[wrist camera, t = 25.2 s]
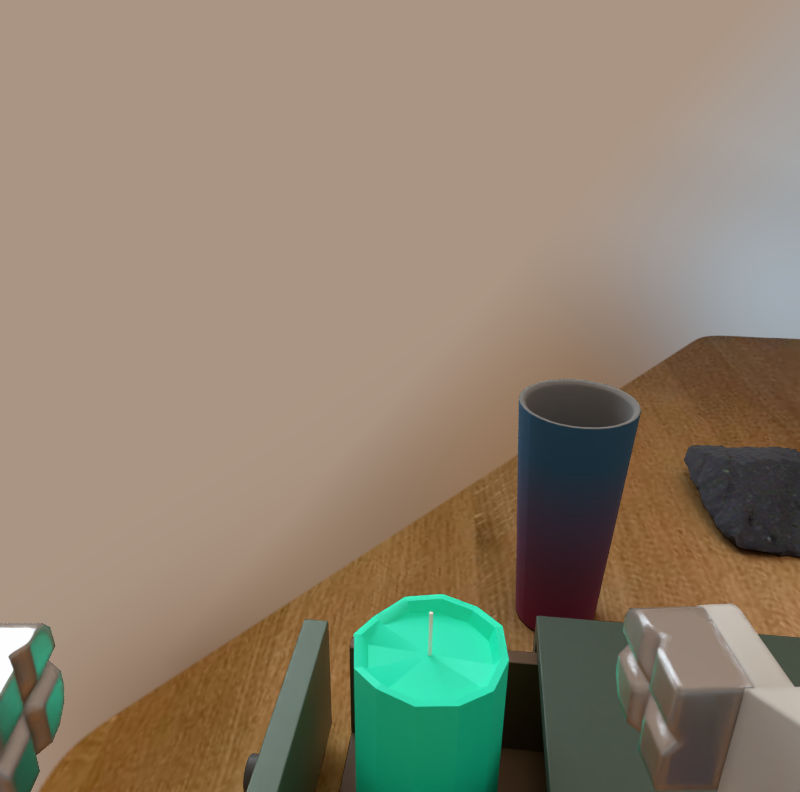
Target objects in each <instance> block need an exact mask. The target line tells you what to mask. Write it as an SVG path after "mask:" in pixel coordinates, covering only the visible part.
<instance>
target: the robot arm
mask: <svg viewBox="0 0 800 792" xmlns="http://www.w3.org/2000/svg"><path fill="white" fill-rule="evenodd" d="M623 632H624V634H625V637H626V639H627V641H628V643H629V644H628V645H627V646H626V647H625V648H624V649H623V650H622V651H621V652H620V653H619V654H618V661H617V668H616V682H617V693H618V697H619V702H620V706H621V709H622V711H623V714H624V717H625V719H626V722H627V723H628V724H630V725H631V726H632V727H633V728H635V729H636V730H637V731H638V732H640V739H639V744H638V751H639V754H640V756H641V758H642V761H643V763H644V766H645V768H646V770H647V773H648V775H649V778H650V780H651V782H652V785H653V787H654V790H655V791H679V790H717V792H800V687H794V685H793V684H792V682H791V681H790V679H789V678H788V677H787V675H786V674H785V672H784V671H783V670H782V668H781V667H780V665H779V664H778V662H777V661H776V660H775V658H774V657H773V655H772V654H771V652H770V651H769V650H768V648H767V647H766V645H765V644H764V643H763V641H762V640H761V638H760V637H759V635H758V634H757V633H756V631H755V630H754V628H753V627H752V626H751V624H750V623H749V621H748V620H747V618H746V617H745V616H744V614H743V613H742V611H741V610H740V609H739V608H738V607H737V606H735V605H733V604H714V605H698V606H682V607H652V608H629V610H628V612H627V614H626V616H625V620H624V625H623ZM54 647H55V644H54V639H53V636H52V632H51V629H50V627H49V626H47V625H45V624H43V623H41V624H39V623H37V624H0V792H31V790H32V787H33V785H34V783H35V781H36V778H37V776H38V774H39V772H40V770H39V766H38V762H37V758H36V755H37V754H38V753H40V752H41V751H42V750H43V749H44V748H46V747H47V746H48V745H49V744H50V743H52V742H53V739H54V737H55V734H56V732H57V730H58V727H59V725H60V720H61V715H62V710H63V704H64V684H63V679H62V674H61V671H60V670H59V669H58V668H57V667H56V666H54V665H53V664H52V663H51V662H50V661H49V658H50V656H51V653H52V652H53V650H54Z"/></svg>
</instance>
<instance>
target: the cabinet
mask: <svg viewBox="0 0 800 792" xmlns="http://www.w3.org/2000/svg"><path fill="white" fill-rule="evenodd" d="M623 625H624V623H619V622H607V621H595V620H583V619H571V618H559V617H547V616H537V617H536V626H535V636H534V645H533V653H537V659H538V673H539V687H540V701H541V715H542V729H543V743H544V758H545V772H546V786H547V792H717V790H679V791H655V790H654V787H653V785H652V782H651V780H650V778H649V775H648V773H647V770H646V768H645V766H644V763H643V761H642V758H641V756H640V754H639V751H638V744H639V739H640V732H638V731H637V730H636V729H635V728H633V727H632V726H631V725H630V724H628V723H627V722H626V719H625V717H624V714H623V711H622V709H621V706H620V702H619V697H618V693H617V682H616V668H617V661H618V654H619V653H620V652H621V651H622V650H623V649H624V648H625V647H626V646H627V645H628V644H629V643H628V641H627V639H626V637H625V634H624V632H623ZM758 635H759V637H760V638H761V640H762V641H763V643H764V644H765V645H766V647H767V648H768V650H769V651H770V652H771V654H772V655H773V657H774V658H775V660H776V661H777V662H778V664H779V665H780V667H781V668H782V670H783V671H784V672H785V674H786V675H787V677H788V678H789V679H790V681H791V682H792V684H793V685H794V687H800V638H798V637H786V636H774V635H762V634H758Z"/></svg>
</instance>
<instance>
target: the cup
mask: <svg viewBox="0 0 800 792" xmlns="http://www.w3.org/2000/svg"><path fill="white" fill-rule="evenodd" d="M640 414H641V408H640V405H639V404H638V402H637V401H636V400H635V399H634V398H633V397H632V396H630V395H629V394H627V393H626V392H624V391H622V390H619V389H617V388H614V387H612V386H609V385H605V384H601V383H597V382H591V381H586V380H575V379H558V380H548V381H543V382H539V383H535V384H533V385H530V386H528V387H527V388H526V389H524V390H523V391H522V392H521V394H520V397H519V431H518V435H519V436H518V494H517V558H516V611H517V614H518V616H519V618H520V619H521V620H522V622H523V623H524V624H526V625H527V626H528V627H529V628H531V629H533V630H534V631H535V626H536V617H537V616H547V617H559V618H571V619H583V620H594V615H595V611H596V607H597V602H598V598H599V594H600V589H601V585H602V580H603V576H604V572H605V567H606V563H607V558H608V554H609V550H610V545H611V541H612V536H613V532H614V528H615V523H616V519H617V514H618V510H619V506H620V501H621V497H622V493H623V488H624V484H625V479H626V475H627V471H628V466H629V462H630V457H631V453H632V449H633V444H634V440H635V435H636V431H637V427H638V422H639V418H640Z"/></svg>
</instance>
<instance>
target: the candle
mask: <svg viewBox="0 0 800 792" xmlns="http://www.w3.org/2000/svg"><path fill="white" fill-rule="evenodd" d="M508 666H509V657H508V652H507V647H506V642H505V637H504V632H503V627H502V625H501V624H499V623H498V622H497V621H495V620H494V619H493V618H491V617H490V616H489V615H488V614H486V613H485V612H484V611H482V610H481V609H480V608H478V607H476V606H474V605H471V604H468V603H466V602H463V601H460V600H457V599H455V598H452V597H449V596H446V595H444V594H438V595H423V596H408V597H404V598H402V599H401V600H399V601H398V602H396V603H394V604H393V605H391V606H390V607H388V608H386V609H385V610H383V611H382V612H380V613H378V614H377V615H375V616H374V617H372V618H371V619H370V620H369V621H368V622H367V623H366V624H364V625H363V626H362V627H361V628H360V629H359V630H358V631H356V632H355V633H354V701H355V757H356V792H497V787H498V776H499V765H500V754H501V743H502V732H503V721H504V710H505V699H506V688H507V677H508Z"/></svg>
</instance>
